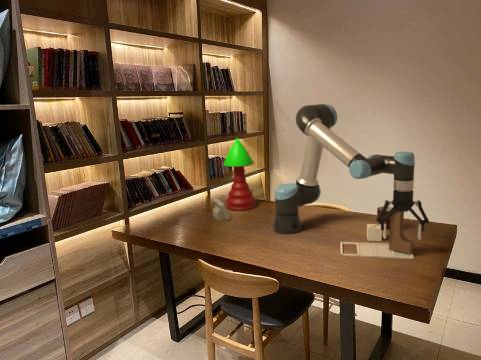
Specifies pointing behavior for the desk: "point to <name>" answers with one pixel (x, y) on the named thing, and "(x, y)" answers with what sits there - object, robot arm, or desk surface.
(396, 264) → the desk surface
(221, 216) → the grey lumpy piece
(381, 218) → the mug
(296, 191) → the robot arm
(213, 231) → the desk surface
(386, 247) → the track board
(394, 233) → the wooden block
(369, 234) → the die
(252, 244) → the desk surface
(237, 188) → the table lamp
